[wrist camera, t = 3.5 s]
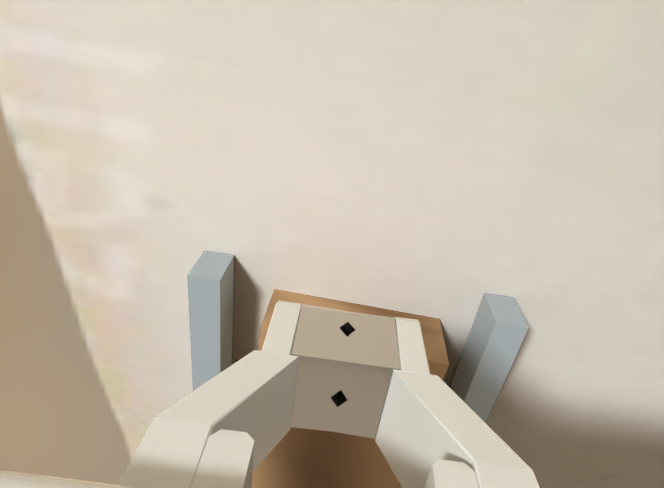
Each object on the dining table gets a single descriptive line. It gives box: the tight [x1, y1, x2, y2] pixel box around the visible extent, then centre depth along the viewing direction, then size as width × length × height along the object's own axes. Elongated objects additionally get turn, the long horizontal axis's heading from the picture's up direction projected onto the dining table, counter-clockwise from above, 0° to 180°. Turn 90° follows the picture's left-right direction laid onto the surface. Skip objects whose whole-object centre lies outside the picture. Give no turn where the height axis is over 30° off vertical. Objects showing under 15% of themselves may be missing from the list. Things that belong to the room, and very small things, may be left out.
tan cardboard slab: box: [251, 289, 449, 488], centre depth 19 cm, size 7×10×3 cm
